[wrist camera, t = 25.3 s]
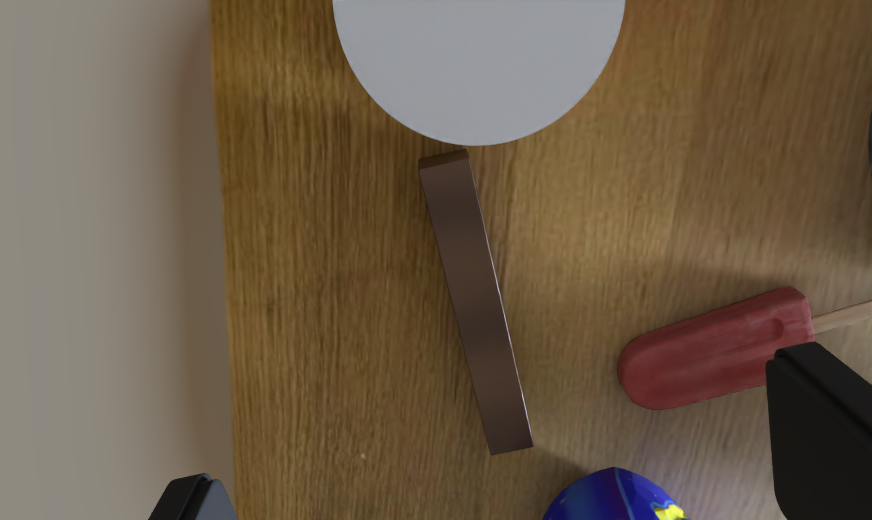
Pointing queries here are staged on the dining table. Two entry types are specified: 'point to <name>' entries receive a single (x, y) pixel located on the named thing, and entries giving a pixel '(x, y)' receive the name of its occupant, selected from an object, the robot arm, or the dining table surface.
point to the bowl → (870, 143)
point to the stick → (476, 298)
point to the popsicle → (722, 348)
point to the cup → (477, 61)
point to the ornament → (614, 499)
